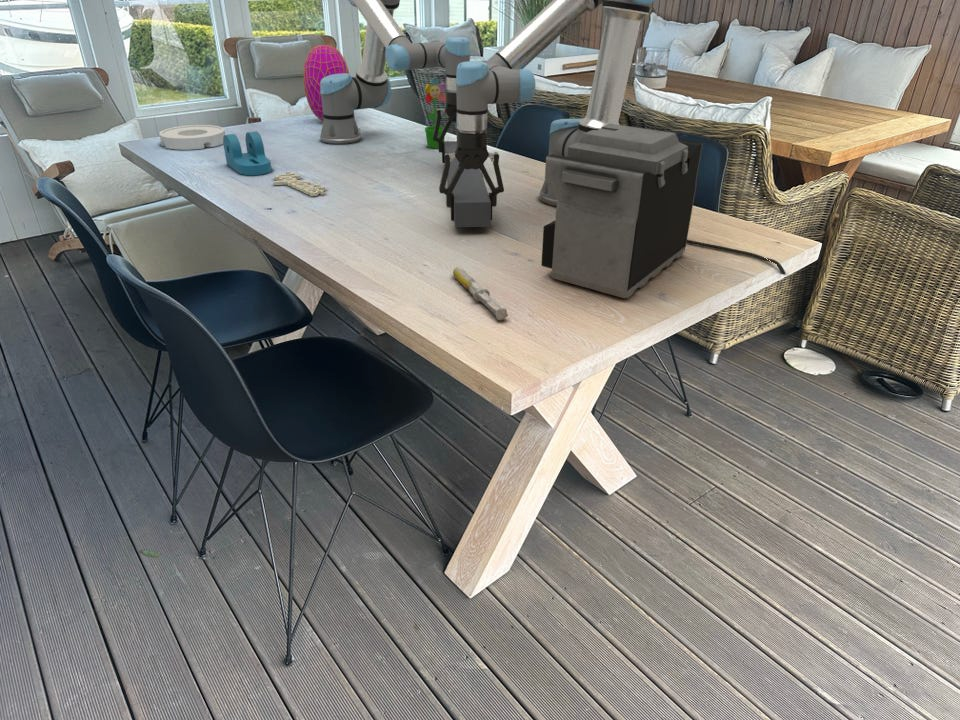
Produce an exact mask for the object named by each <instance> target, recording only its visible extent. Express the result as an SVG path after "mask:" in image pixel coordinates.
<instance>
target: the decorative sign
mask: <svg viewBox="0 0 960 720" xmlns="http://www.w3.org/2000/svg"><path fill="white" fill-rule="evenodd" d="M301 179H302V176H301V174H295V172H293V171H285V173H283V174H282V173H281V174H276V175H274V181H273V185H274V186H283V185H284V186H288V187H291V188H293V189H295V190H297V191H300V192H303V194H305V195H309V196H310V197H317V196H319V195H320V196H323V195H325V191H326V186H325V185H324V186H321V184H318V183H317V184H316V183H315V184H312V182H311V181H310V180H305V179H303V180H301Z"/></svg>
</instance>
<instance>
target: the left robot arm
mask: <svg viewBox="0 0 960 720" xmlns="http://www.w3.org/2000/svg"><path fill="white" fill-rule="evenodd" d="M347 1H348V2H349V4H350V5H351V6H352V7H355V8H357V10H358V11H359V13H360V14H361V15H362V17H363V19H364V20H365V21H366V27H365V28H366V29H365V36H364V43H363V52H362V60H361V65H360V66H358V67H357V69H356V73H355V76H352V75H351V74H350V73H349V74H347V73H341V74H333V75H329V76H326V77H324V78H323V79H322V80H321V82H320V93H321V99H322V108H323V118H324V121H322V126H321V131H320V135H319V136H320V141H321V142H322V143H324V144H329V145H348V144H354V143H357V142H360V141H361V139H362V135H361V133H360V132H361V127H358V125H357V121H356V119H355V111H358V110H365V109H377V108H381V107H385V106H386V105H387V104H388V103H389V102H390V100H391V97H392V83H391V80H390V78H389V77H388V74H387V72H386V71H385V68H386V64H387V67H388V68H389V70H391V71H398V72H405V71H413V70H423V69H436V68H441V69H445V84H446V89H447V90H446V92H445V96H446V101H445V107H444V108H439V109H437V108H436V109H437V113H436V125H435V129H434V134H433V140H434V141H437V142H438V148H437V149H438V153H441V164H444V163H445V157H444V141H445V138H446V135H447V133H448V131H449V128H450V127H451V125H452V123H457V95H456V74H457V67H458V65H459V64H460V63H462V62H468V61H471V46H470V40H469V39H468V38H467V37H465V36H462V37H461V36H448V37H446V39H445V42H444V41H441V40H428V41H427V42H426V41H425V42H411V41H410V39H409V38H408V37H407V36H406V34H405V32H404V31H403V30H402V28H401V27H400V26H399V24H398V23H397V21H396V20H395V18H394V12H395V10H397V9H398V8H399V7H400V1H401V0H347ZM444 114H446V115H447V120H446V122H445V124H444V126H443V127H444V128H443V130H442V132H441V134H440V136H439V137H437V135H438V131H439V126H441V122H442V117H443V116H444ZM444 137H445V138H444ZM443 139H444V141H443Z"/></svg>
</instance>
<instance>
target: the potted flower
mask: <svg viewBox="0 0 960 720" xmlns="http://www.w3.org/2000/svg"><path fill="white" fill-rule="evenodd" d="M445 91H448V90H447V89H446V82H441V83H439V78H438V76H437V75H435V76H433V77H432V78H431V80H430V84H429V83H427V84H426V85H425V87H424V92H425V93H427V94H426V95H425V98H424V99H425V101H426V104H431V102H432V101H433V113H429V114H428V115H427V118H428V119H430V120H433V124H434V125H430V126H426V127H424V133H425V139H426V145H427V146H426V147H428V148H430V149H438V142H437V141H434V140H433V134H434V129H435V125H436V120H437V109H440V108H437V105H436V104H437V101H436V100H438V101H439V102H442V103H443V102H445V103H446V94H445V93H443V92H445ZM443 128H444V126H441V125H440V126H439V131H438V135H437V137H439V136H440V134H441V132H442V130H443ZM445 138H446V136H445V137H444V139H443V141H445Z"/></svg>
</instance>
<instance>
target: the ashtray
mask: <svg viewBox="0 0 960 720" xmlns="http://www.w3.org/2000/svg"><path fill="white" fill-rule="evenodd" d="M158 135H159V140H160V145H161V146H162V147H165V149H170V150H177V151H178V150H180V151H181V150H182V151H186V150H187V151H189V150H201V149H202V150H203V149H205V148H214V147H215V148H216V147H218V146H221V145H224V144H223V137H224V135H226V130H225V127H222V126H218V125H214V124H189V125H188V124H187V125H179V126H174V127H169V128H166V129H163V130H161V131H159V133H158Z"/></svg>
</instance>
